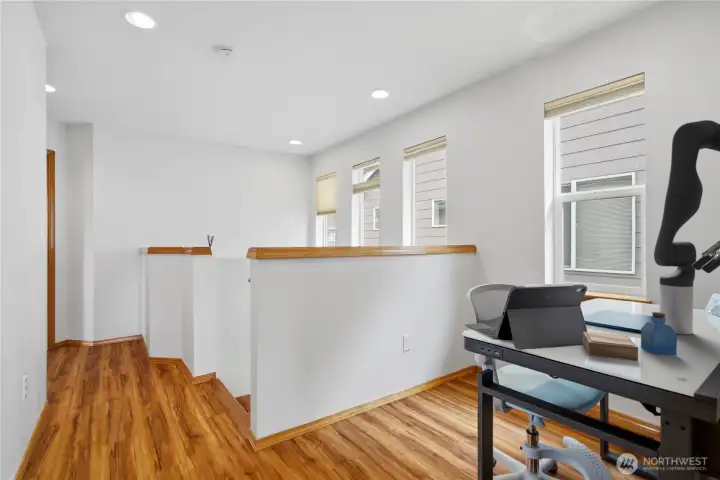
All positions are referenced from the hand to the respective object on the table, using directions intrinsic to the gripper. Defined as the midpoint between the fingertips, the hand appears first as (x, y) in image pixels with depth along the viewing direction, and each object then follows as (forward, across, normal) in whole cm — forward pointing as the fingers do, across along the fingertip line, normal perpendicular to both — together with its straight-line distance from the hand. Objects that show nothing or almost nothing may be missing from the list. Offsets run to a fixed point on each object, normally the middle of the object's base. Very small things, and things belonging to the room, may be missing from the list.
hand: (699, 269), depth 102 cm
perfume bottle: (+25, -2, +12) cm, 28 cm away
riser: (+34, +6, +2) cm, 35 cm away
